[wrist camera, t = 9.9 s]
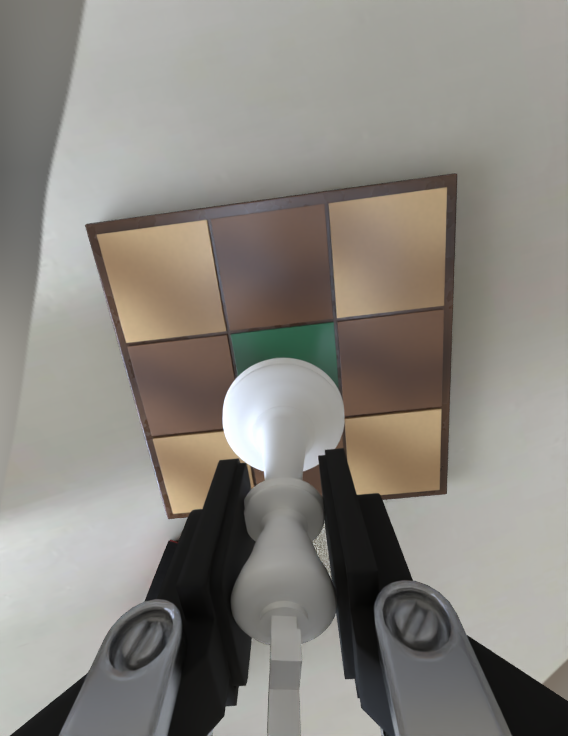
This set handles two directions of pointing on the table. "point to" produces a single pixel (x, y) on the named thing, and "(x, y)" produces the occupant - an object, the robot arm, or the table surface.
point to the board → (291, 325)
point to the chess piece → (283, 517)
